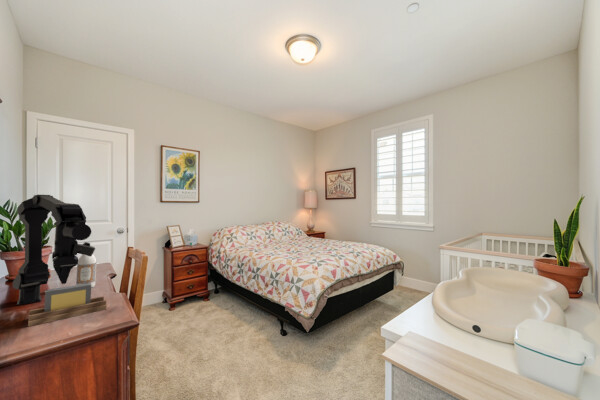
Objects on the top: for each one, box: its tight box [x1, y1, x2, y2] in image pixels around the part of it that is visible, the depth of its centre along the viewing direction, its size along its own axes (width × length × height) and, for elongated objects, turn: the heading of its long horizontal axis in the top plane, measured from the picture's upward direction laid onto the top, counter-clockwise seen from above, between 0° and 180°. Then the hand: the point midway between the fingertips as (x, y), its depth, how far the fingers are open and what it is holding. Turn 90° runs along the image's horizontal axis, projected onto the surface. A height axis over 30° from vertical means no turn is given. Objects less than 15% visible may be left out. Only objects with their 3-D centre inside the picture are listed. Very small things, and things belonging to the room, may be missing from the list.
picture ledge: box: [27, 295, 107, 328], centre depth 89 cm, size 20×8×3 cm, turn 136°
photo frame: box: [43, 283, 92, 312], centre depth 89 cm, size 12×3×8 cm, turn 136°
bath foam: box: [75, 244, 97, 289], centre depth 119 cm, size 7×7×20 cm
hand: (63, 280), depth 91 cm, fingers open, 9 cm apart
